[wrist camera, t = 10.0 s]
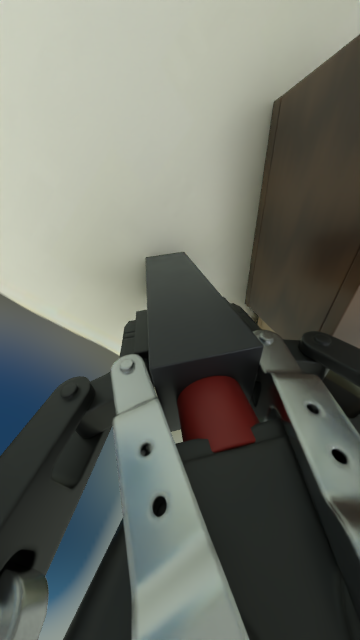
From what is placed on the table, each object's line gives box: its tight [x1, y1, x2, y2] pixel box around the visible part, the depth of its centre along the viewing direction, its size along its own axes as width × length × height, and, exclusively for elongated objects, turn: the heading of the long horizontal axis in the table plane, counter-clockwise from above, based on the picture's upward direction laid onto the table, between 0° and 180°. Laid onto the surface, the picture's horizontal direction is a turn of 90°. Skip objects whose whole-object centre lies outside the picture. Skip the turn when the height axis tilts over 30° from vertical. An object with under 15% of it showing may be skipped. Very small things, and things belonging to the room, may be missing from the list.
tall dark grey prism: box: [146, 252, 264, 452], centre depth 11 cm, size 4×4×15 cm
